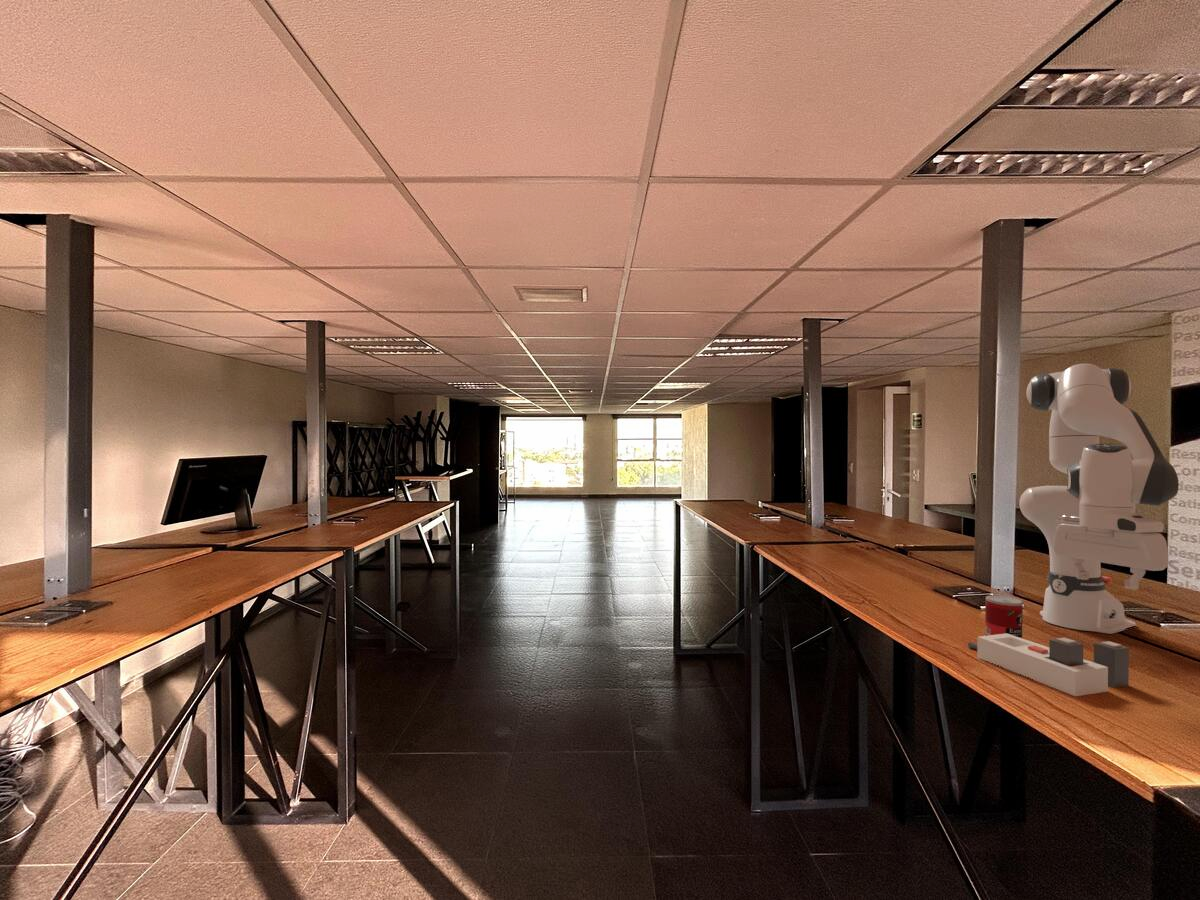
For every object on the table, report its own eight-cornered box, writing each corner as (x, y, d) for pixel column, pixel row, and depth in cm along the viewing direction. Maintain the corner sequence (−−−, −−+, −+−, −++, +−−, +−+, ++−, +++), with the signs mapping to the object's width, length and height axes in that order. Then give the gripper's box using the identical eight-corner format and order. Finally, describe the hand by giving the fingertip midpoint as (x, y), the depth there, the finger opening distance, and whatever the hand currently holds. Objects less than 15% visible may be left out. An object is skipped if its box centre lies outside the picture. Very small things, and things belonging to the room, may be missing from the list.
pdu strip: (984, 645, 145) (984, 608, 145) (1107, 691, 118) (1108, 645, 118) (955, 648, 143) (955, 611, 143) (1075, 696, 116) (1075, 650, 116)
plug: (1107, 678, 125) (1107, 639, 125) (1128, 685, 121) (1128, 645, 121) (1093, 680, 124) (1094, 641, 124) (1114, 687, 120) (1114, 647, 120)
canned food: (1012, 648, 143) (1012, 604, 143) (978, 639, 150) (978, 597, 150) (1029, 644, 146) (1029, 601, 146) (995, 634, 154) (995, 593, 153)
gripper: (1046, 514, 133) (1046, 574, 133) (1151, 525, 113) (1151, 595, 113) (1066, 514, 134) (1066, 573, 134) (1173, 524, 115) (1174, 594, 114)
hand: (1106, 583), depth 123 cm, fingers open, 8 cm apart
